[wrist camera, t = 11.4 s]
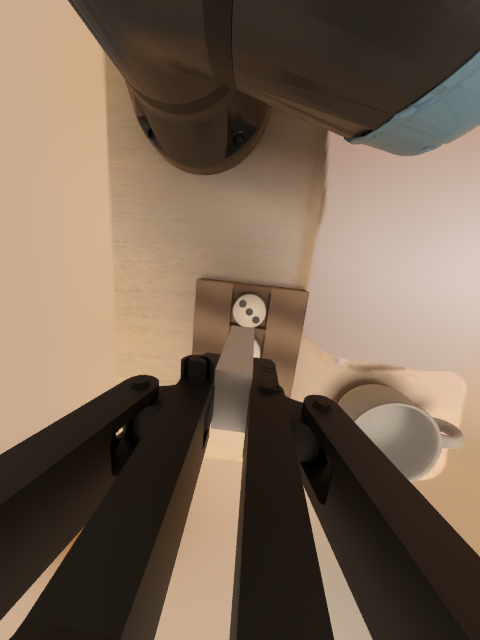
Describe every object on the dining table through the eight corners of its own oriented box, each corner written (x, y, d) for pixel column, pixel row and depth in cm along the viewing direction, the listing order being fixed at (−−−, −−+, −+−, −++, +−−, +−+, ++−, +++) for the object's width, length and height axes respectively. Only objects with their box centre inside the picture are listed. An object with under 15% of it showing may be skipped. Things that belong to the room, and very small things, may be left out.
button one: (232, 331, 32) (230, 337, 29) (261, 334, 32) (262, 341, 29) (229, 358, 33) (227, 366, 30) (257, 361, 33) (258, 370, 30)
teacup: (320, 432, 36) (337, 479, 28) (334, 368, 33) (358, 400, 26) (412, 445, 35) (455, 496, 28) (434, 381, 33) (489, 417, 25)
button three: (236, 291, 30) (234, 293, 28) (267, 294, 30) (268, 297, 28) (233, 320, 31) (231, 325, 29) (263, 324, 31) (263, 329, 29)
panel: (201, 278, 32) (196, 279, 29) (305, 290, 31) (309, 292, 29) (194, 390, 36) (189, 399, 33) (285, 402, 35) (287, 412, 33)
